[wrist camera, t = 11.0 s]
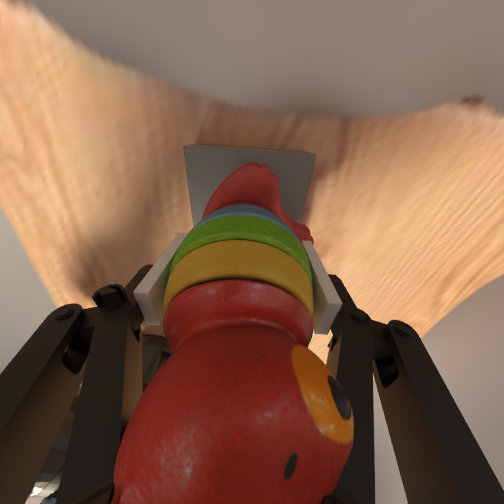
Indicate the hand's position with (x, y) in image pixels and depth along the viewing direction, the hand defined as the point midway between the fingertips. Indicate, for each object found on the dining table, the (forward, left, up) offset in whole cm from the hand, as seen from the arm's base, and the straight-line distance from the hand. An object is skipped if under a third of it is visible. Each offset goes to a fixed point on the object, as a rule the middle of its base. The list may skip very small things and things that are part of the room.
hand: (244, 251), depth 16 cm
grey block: (0, 0, -12) cm, 12 cm away
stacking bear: (0, 0, -4) cm, 4 cm away
